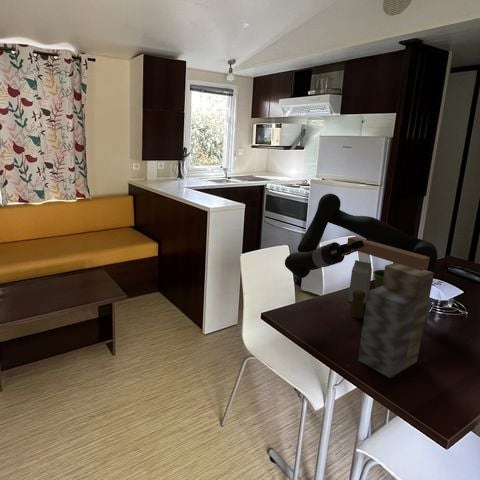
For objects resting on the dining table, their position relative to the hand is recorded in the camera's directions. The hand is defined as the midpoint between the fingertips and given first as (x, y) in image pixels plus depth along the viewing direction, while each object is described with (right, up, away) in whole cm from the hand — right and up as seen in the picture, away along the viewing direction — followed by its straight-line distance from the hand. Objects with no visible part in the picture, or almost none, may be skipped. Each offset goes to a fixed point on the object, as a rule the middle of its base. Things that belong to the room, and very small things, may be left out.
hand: (366, 242), depth 124 cm
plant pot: (+27, -26, +58) cm, 69 cm away
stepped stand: (+8, -40, +4) cm, 41 cm away
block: (+4, -5, -5) cm, 8 cm away
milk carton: (+13, -27, +51) cm, 60 cm away
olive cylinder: (+8, -31, +37) cm, 49 cm away
